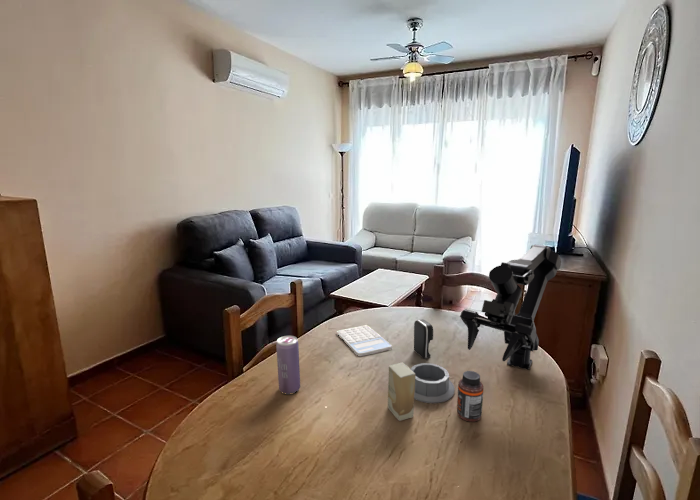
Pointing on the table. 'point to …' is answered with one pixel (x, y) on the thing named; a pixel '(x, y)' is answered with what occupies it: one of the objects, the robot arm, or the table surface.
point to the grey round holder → (432, 383)
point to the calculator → (364, 340)
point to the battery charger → (422, 337)
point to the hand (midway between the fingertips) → (485, 354)
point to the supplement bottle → (470, 397)
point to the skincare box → (401, 391)
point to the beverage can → (288, 364)
